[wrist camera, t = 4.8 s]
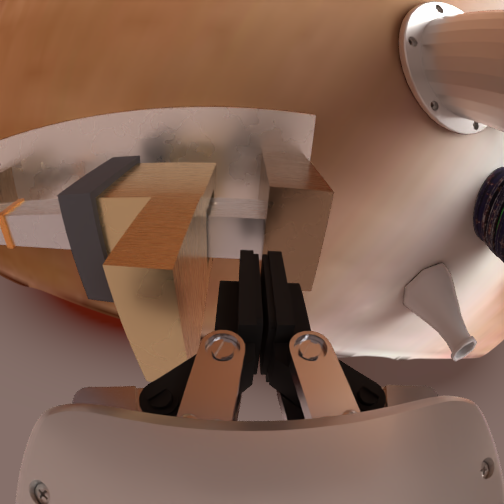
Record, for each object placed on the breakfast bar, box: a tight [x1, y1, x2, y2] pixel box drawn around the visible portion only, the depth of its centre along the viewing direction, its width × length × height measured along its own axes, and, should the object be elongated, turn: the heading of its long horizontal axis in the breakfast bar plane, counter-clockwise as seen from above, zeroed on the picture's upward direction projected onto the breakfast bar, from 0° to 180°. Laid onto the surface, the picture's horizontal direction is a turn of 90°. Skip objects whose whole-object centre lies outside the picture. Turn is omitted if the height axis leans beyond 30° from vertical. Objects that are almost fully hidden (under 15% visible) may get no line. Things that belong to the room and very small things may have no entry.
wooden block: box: [95, 162, 217, 382], centre depth 12 cm, size 5×6×11 cm
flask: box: [403, 263, 477, 361], centre depth 23 cm, size 7×7×10 cm
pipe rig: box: [0, 106, 334, 291], centre depth 16 cm, size 31×12×8 cm, turn 86°
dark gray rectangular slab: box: [57, 156, 140, 302], centre depth 14 cm, size 2×6×6 cm, turn 176°
